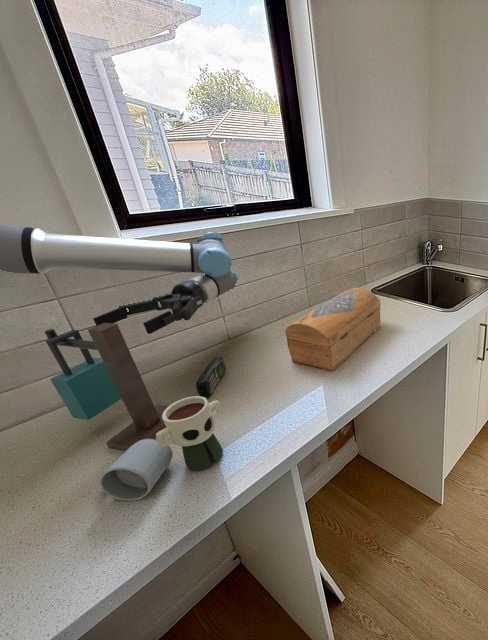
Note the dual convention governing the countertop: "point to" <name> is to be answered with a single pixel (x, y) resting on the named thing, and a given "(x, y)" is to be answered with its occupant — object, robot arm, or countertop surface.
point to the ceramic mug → (136, 470)
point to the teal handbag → (83, 382)
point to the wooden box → (334, 329)
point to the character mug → (192, 430)
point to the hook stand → (122, 384)
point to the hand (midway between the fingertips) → (121, 326)
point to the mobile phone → (210, 377)
